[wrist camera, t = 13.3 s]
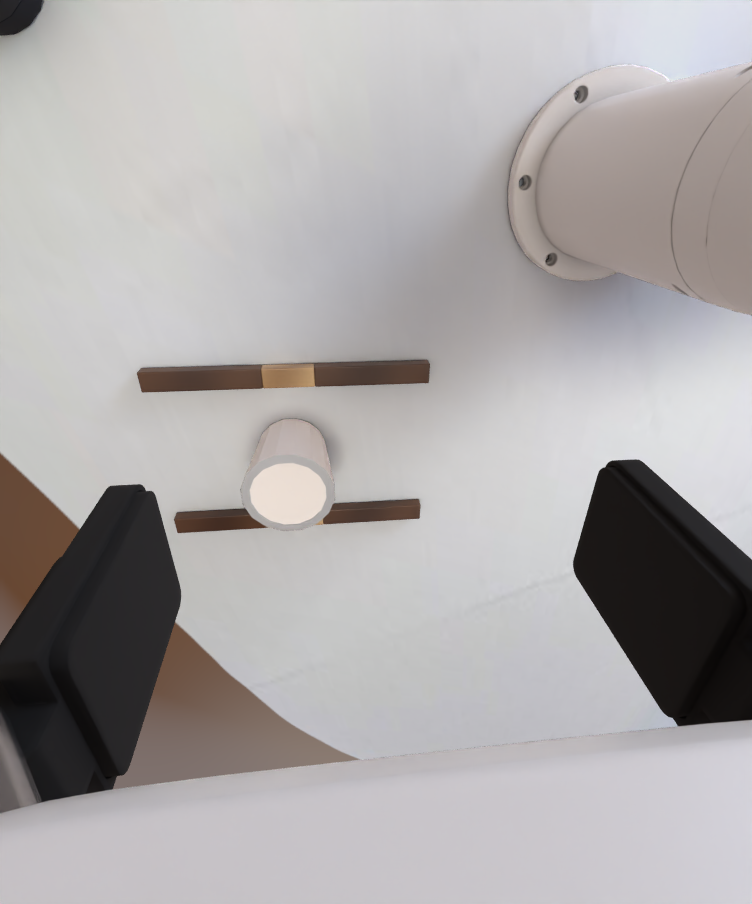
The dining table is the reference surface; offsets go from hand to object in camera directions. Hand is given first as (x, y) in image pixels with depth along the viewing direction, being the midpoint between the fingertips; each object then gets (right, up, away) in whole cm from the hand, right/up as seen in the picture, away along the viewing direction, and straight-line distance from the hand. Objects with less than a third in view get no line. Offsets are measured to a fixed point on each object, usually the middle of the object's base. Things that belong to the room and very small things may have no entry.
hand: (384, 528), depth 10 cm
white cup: (-7, +2, +31) cm, 32 cm away
